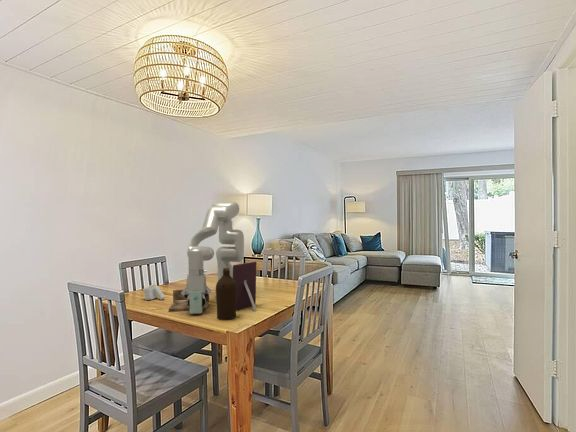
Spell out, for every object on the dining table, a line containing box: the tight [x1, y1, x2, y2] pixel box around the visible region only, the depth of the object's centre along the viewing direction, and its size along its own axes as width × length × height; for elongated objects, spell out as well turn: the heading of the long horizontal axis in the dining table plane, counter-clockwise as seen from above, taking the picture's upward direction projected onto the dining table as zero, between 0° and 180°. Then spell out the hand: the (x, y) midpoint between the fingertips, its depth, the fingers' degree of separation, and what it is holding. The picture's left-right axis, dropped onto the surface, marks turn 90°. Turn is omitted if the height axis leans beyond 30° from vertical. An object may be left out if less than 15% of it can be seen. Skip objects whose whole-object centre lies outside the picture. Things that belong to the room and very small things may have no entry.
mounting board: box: [168, 289, 210, 313], centre depth 180 cm, size 20×14×8 cm
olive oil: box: [215, 267, 237, 321], centre depth 163 cm, size 11×11×25 cm
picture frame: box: [232, 261, 258, 312], centre depth 176 cm, size 17×10×25 cm, turn 141°
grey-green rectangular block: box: [189, 291, 203, 315], centre depth 169 cm, size 6×9×11 cm
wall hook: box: [143, 284, 166, 301], centre depth 198 cm, size 8×10×10 cm
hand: (196, 305), depth 169 cm, fingers closed on grey-green rectangular block, 6 cm apart
